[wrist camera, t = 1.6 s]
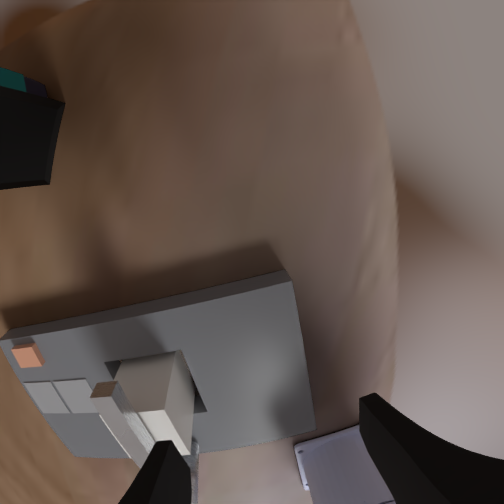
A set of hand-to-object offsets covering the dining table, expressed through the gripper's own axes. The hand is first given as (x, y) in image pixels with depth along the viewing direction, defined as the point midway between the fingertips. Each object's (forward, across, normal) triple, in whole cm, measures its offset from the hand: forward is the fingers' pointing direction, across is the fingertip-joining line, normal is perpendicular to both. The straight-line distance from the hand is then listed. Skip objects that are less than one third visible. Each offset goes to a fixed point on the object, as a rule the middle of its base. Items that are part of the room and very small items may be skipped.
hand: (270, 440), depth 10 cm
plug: (+10, +7, +3) cm, 13 cm away
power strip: (+10, +8, +4) cm, 14 cm away
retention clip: (+8, +7, +4) cm, 12 cm away
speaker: (+11, +12, -16) cm, 23 cm away
